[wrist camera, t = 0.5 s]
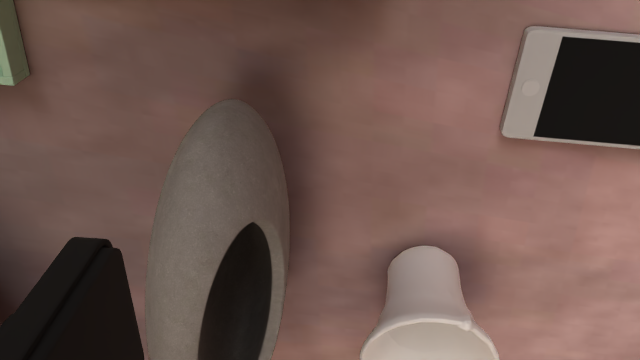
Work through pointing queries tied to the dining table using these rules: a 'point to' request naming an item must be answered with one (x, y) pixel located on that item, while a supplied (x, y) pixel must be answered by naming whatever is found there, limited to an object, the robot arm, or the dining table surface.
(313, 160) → the dining table surface
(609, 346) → the dining table surface
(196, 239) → the planter
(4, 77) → the tray
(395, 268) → the cup
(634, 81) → the smartphone
